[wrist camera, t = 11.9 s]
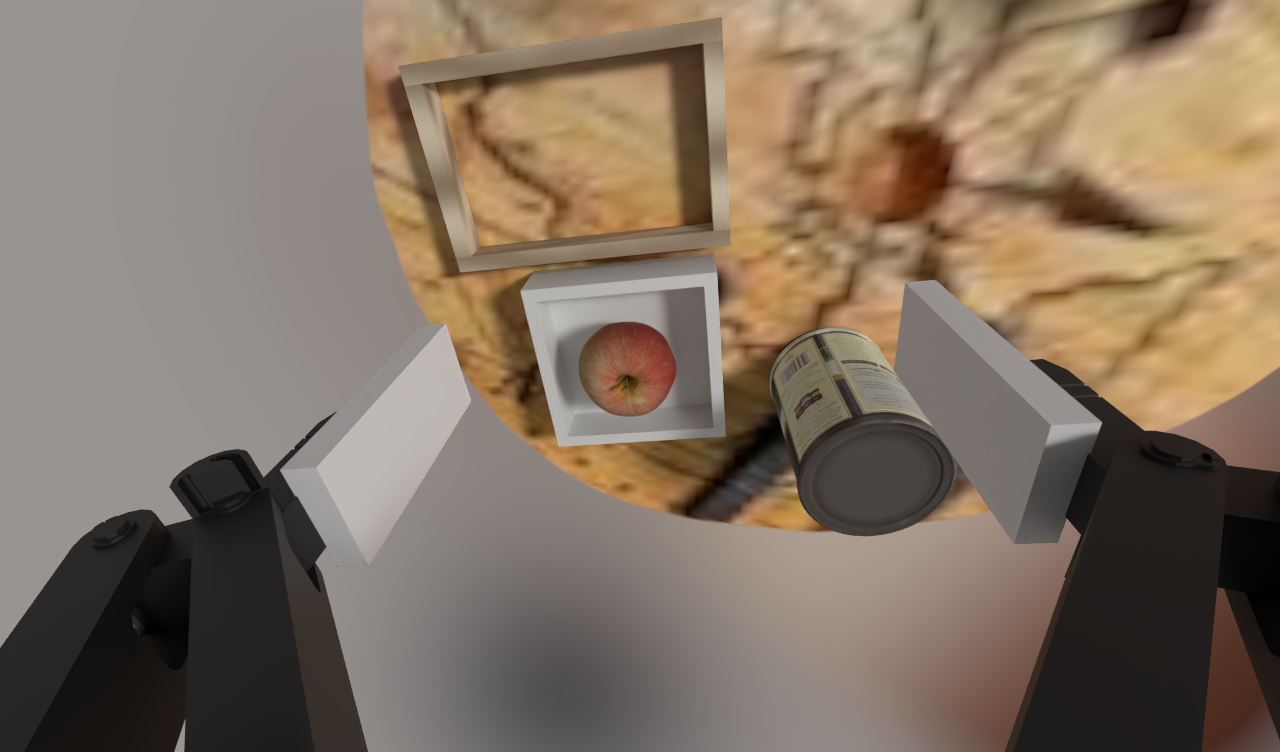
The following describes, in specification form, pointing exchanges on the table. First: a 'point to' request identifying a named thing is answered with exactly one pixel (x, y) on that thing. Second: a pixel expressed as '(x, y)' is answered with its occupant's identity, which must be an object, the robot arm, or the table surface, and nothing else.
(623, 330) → the apple
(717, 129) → the corral
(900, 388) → the coffee can
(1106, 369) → the table surface
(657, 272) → the bin
